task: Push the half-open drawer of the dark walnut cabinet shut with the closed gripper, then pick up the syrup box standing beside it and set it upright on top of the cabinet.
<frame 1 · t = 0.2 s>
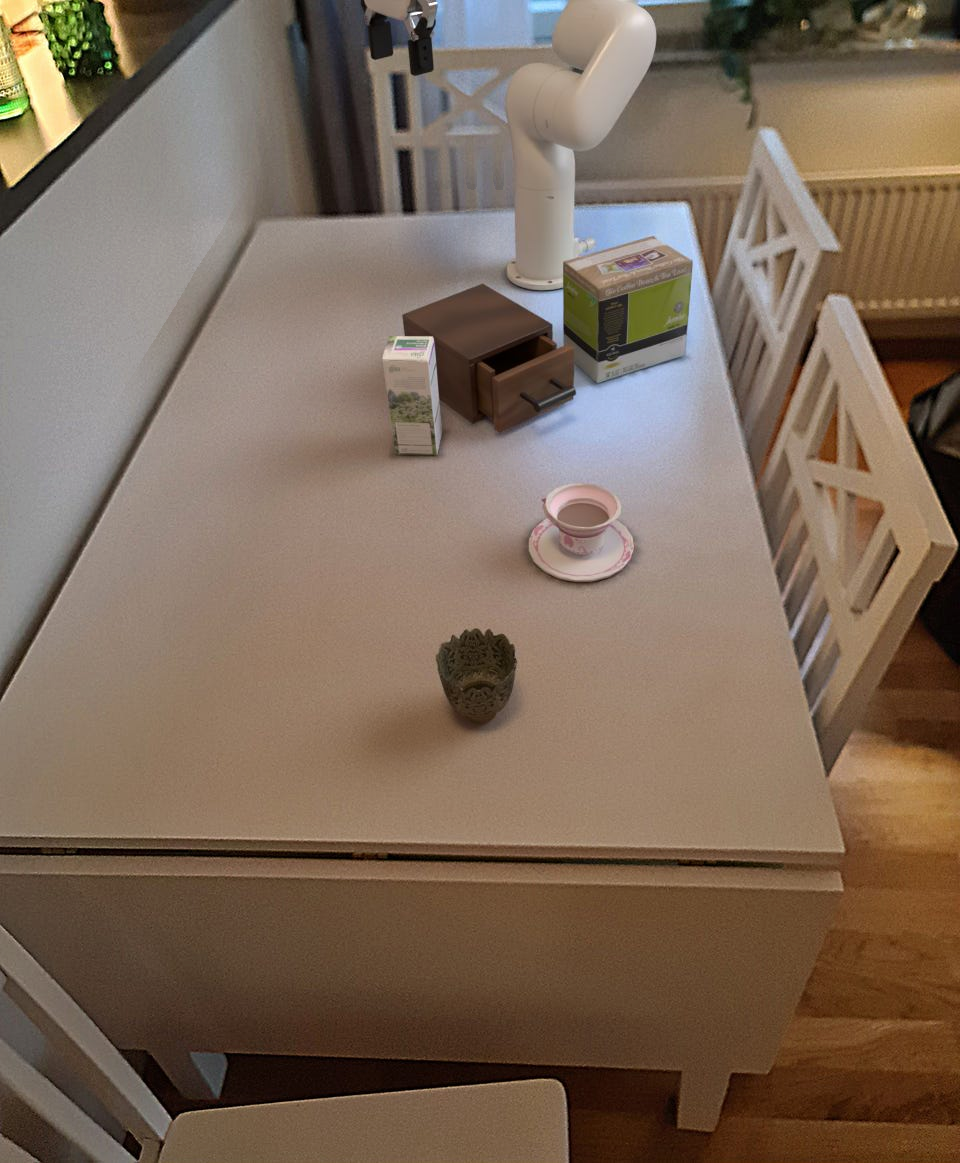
hand: (401, 65, 123), 37 cm above the table, tool pointing down, fingers open, 9 cm apart
cabinet: (479, 382, 135), on the table
cup: (480, 712, 92), on the table
teacup: (580, 548, 108), on the table
tea box: (622, 357, 138), on the table
syrup box: (419, 445, 125), on the table
drawer: (513, 374, 127), point 5 cm above the table, slide at 4.0 cm
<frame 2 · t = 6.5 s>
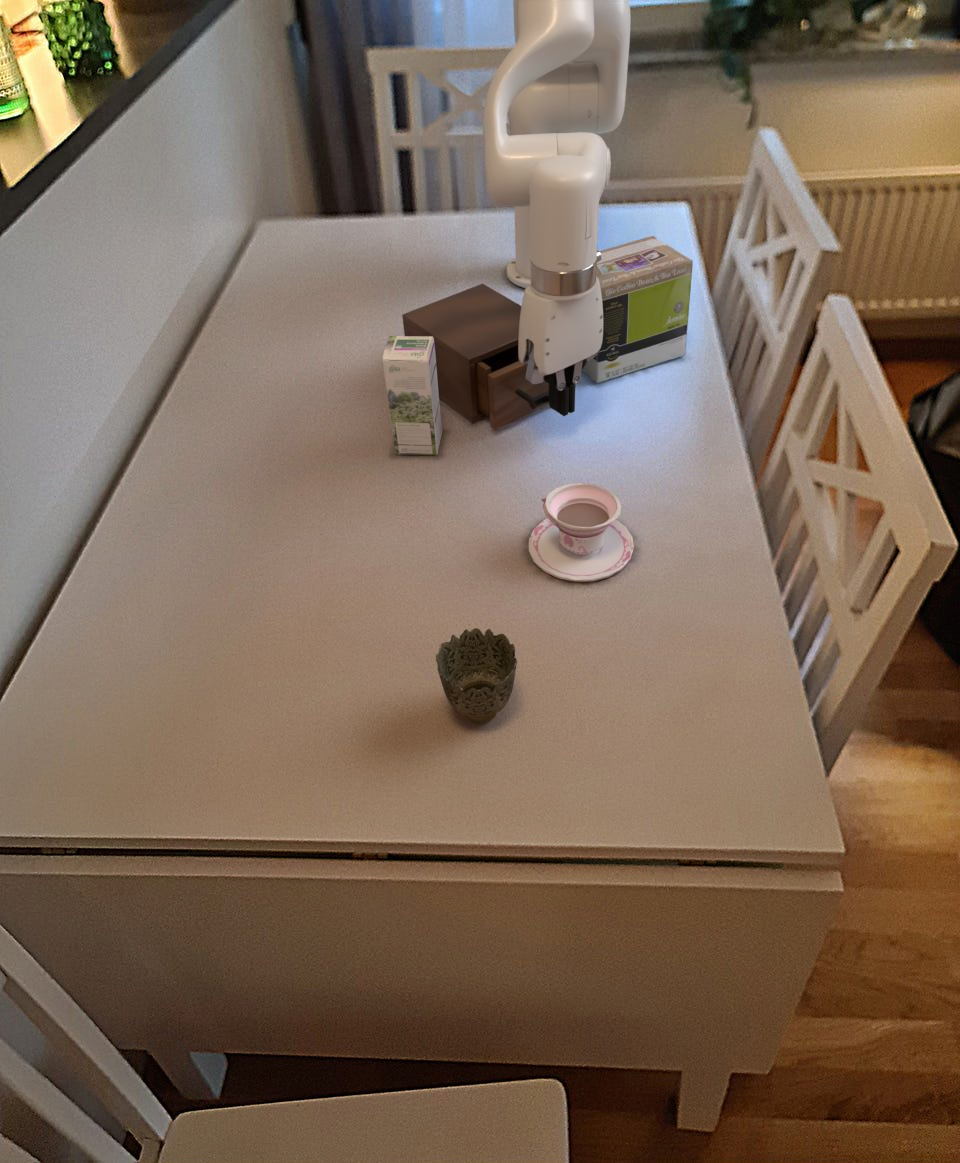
hand: (561, 409, 121), 5 cm above the table, tool pointing down, fingers closed
drawer: (508, 371, 127), point 5 cm above the table, slide at 3.1 cm, touching gripper
everything else where it was.
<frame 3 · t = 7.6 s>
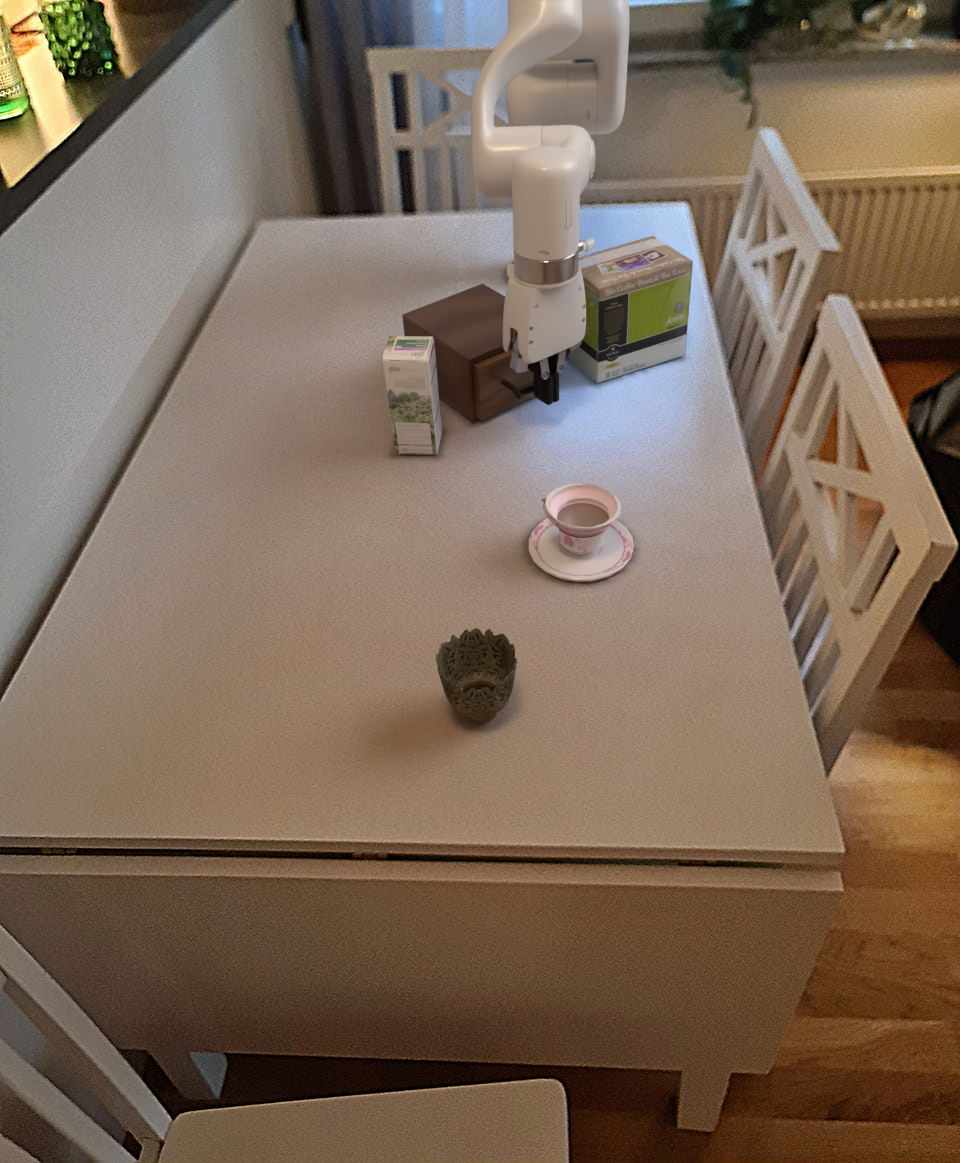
hand: (546, 398, 123), 5 cm above the table, tool pointing down, fingers closed
drawer: (495, 362, 129), point 5 cm above the table, slide at 0.0 cm, touching cabinet, gripper
everything else where it was.
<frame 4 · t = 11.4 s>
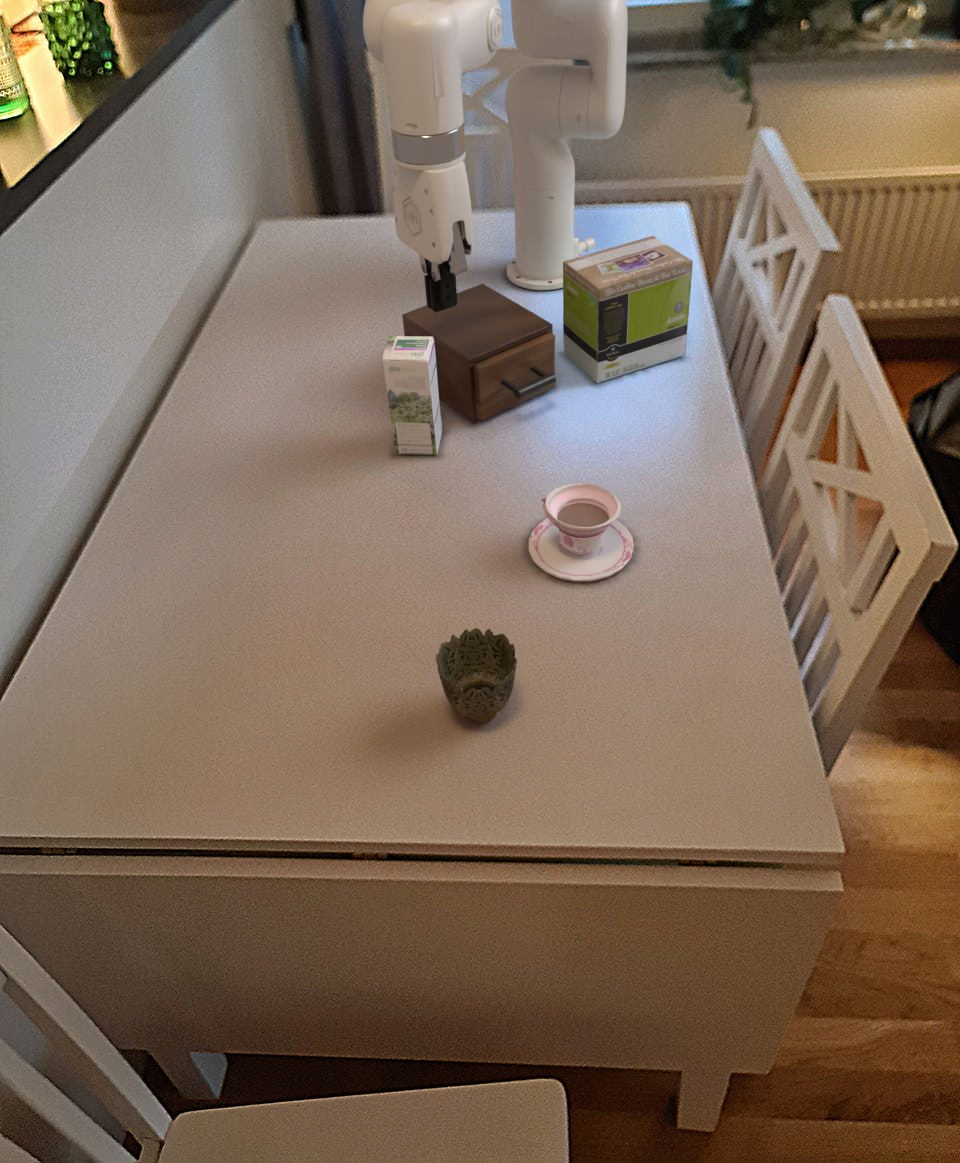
hand: (442, 306, 111), 20 cm above the table, tool pointing down, fingers closed
drawer: (495, 362, 129), point 5 cm above the table, slide at 0.0 cm, touching cabinet
everything else where it was.
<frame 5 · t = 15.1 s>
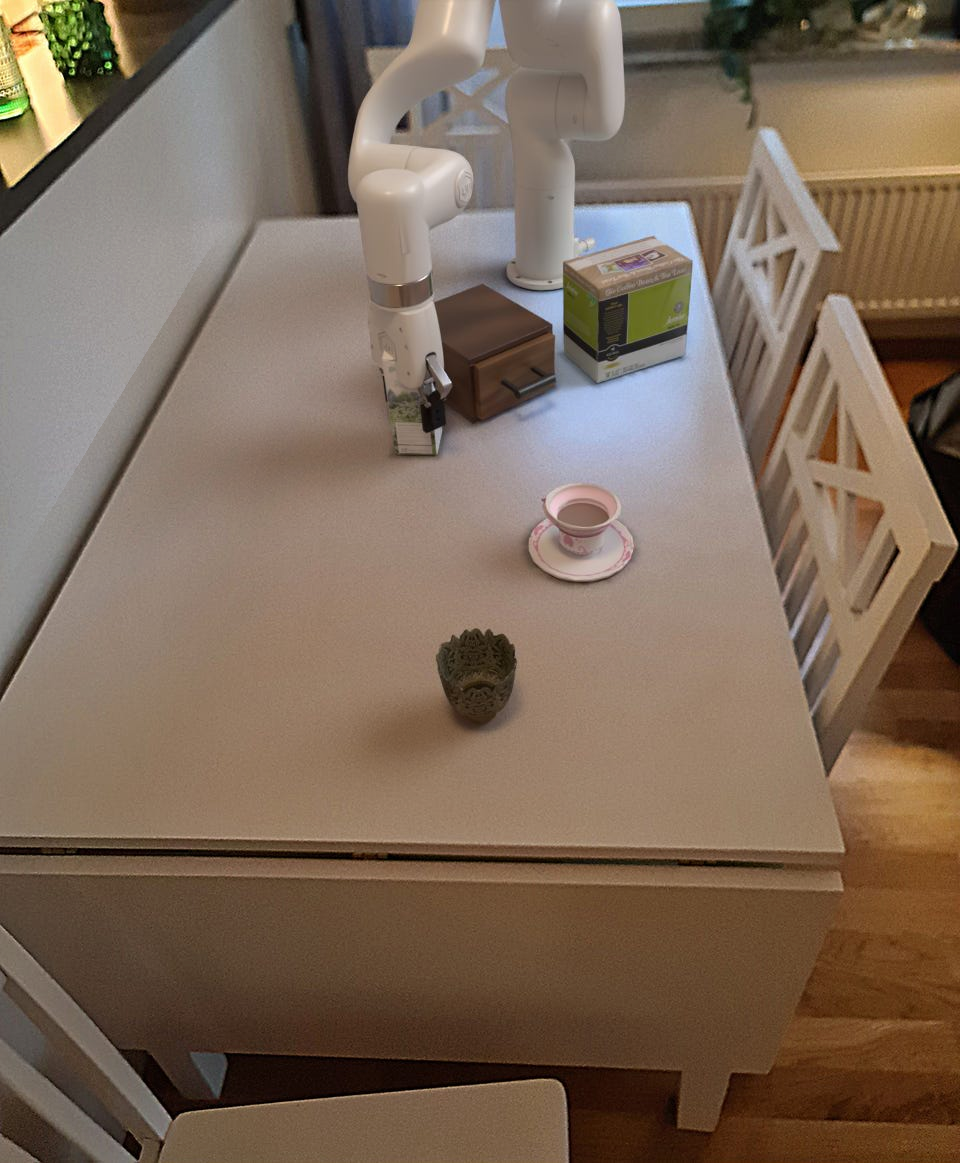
hand: (415, 412, 121), 5 cm above the table, tool pointing down, fingers closed on syrup box, 8 cm apart
syrup box: (419, 445, 125), on the table, touching gripper
everything else where it was.
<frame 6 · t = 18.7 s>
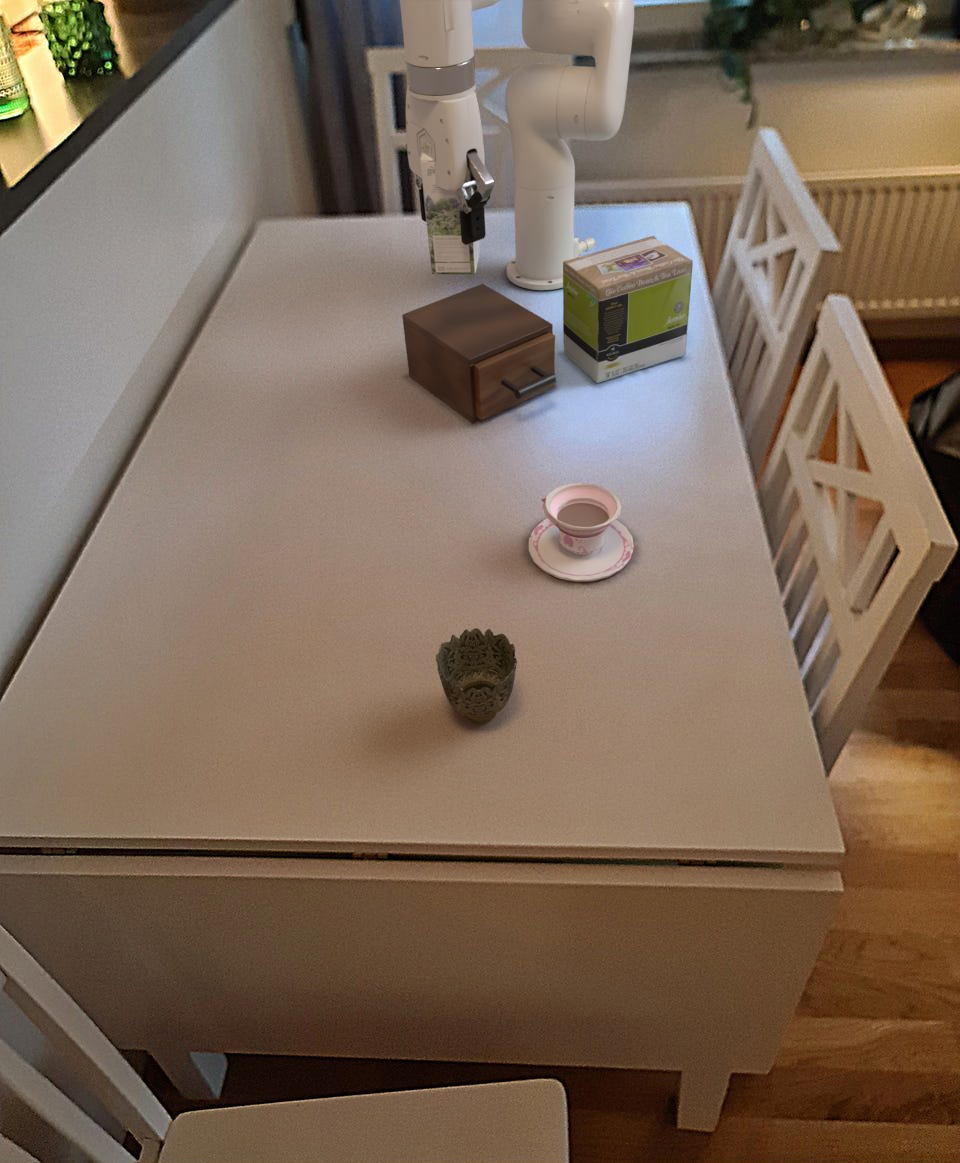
hand: (453, 228, 117), 23 cm above the table, tool pointing down, fingers closed on syrup box, 8 cm apart
syrup box: (456, 266, 121), point 18 cm above the table, touching gripper
everything else where it was.
when the fingers open (15 cm above the table, at t = 22.4 s): syrup box stays where it is, resting on cabinet.
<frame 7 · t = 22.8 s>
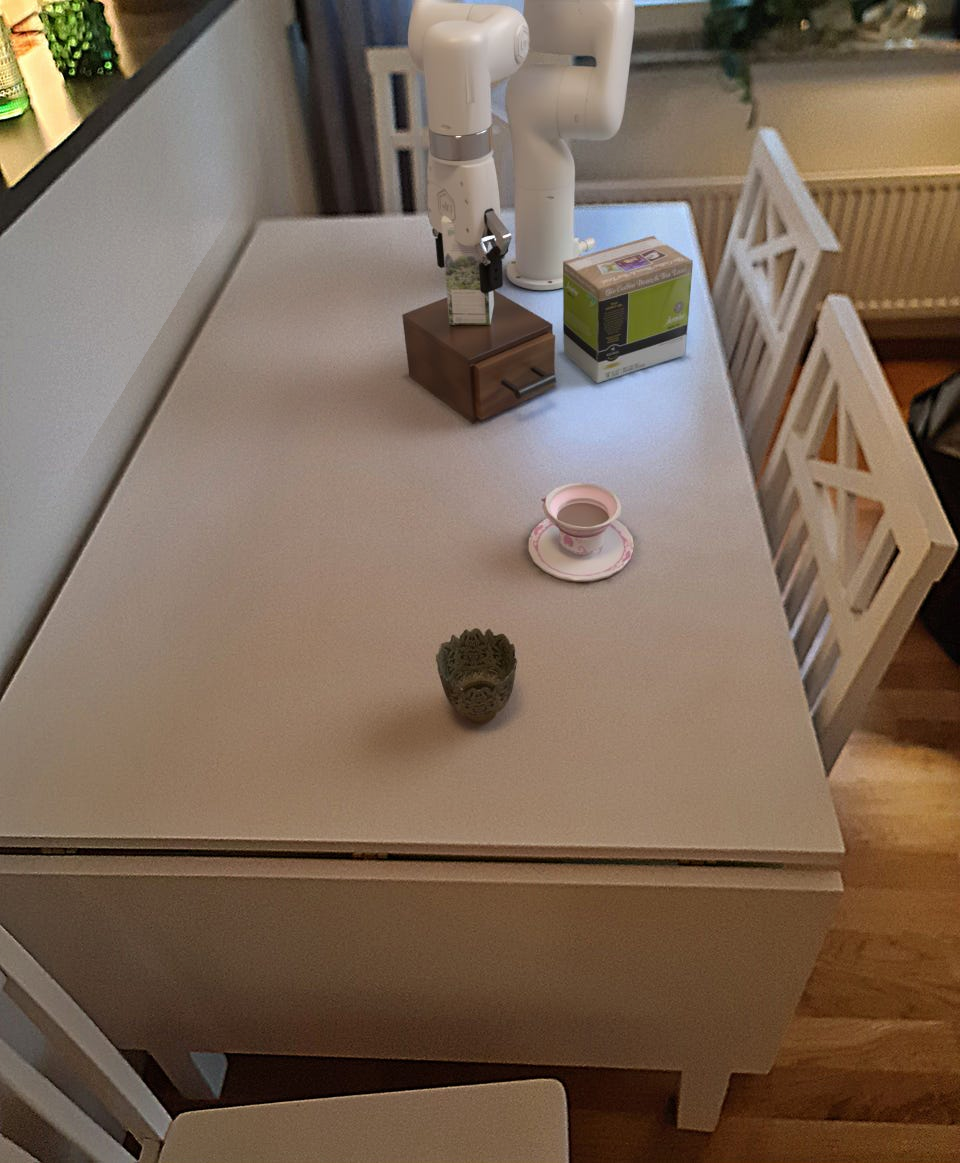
hand: (469, 276, 125), 15 cm above the table, tool pointing down, fingers open, 9 cm apart
syrup box: (472, 317, 129), point 10 cm above the table, touching cabinet
everything else where it was.
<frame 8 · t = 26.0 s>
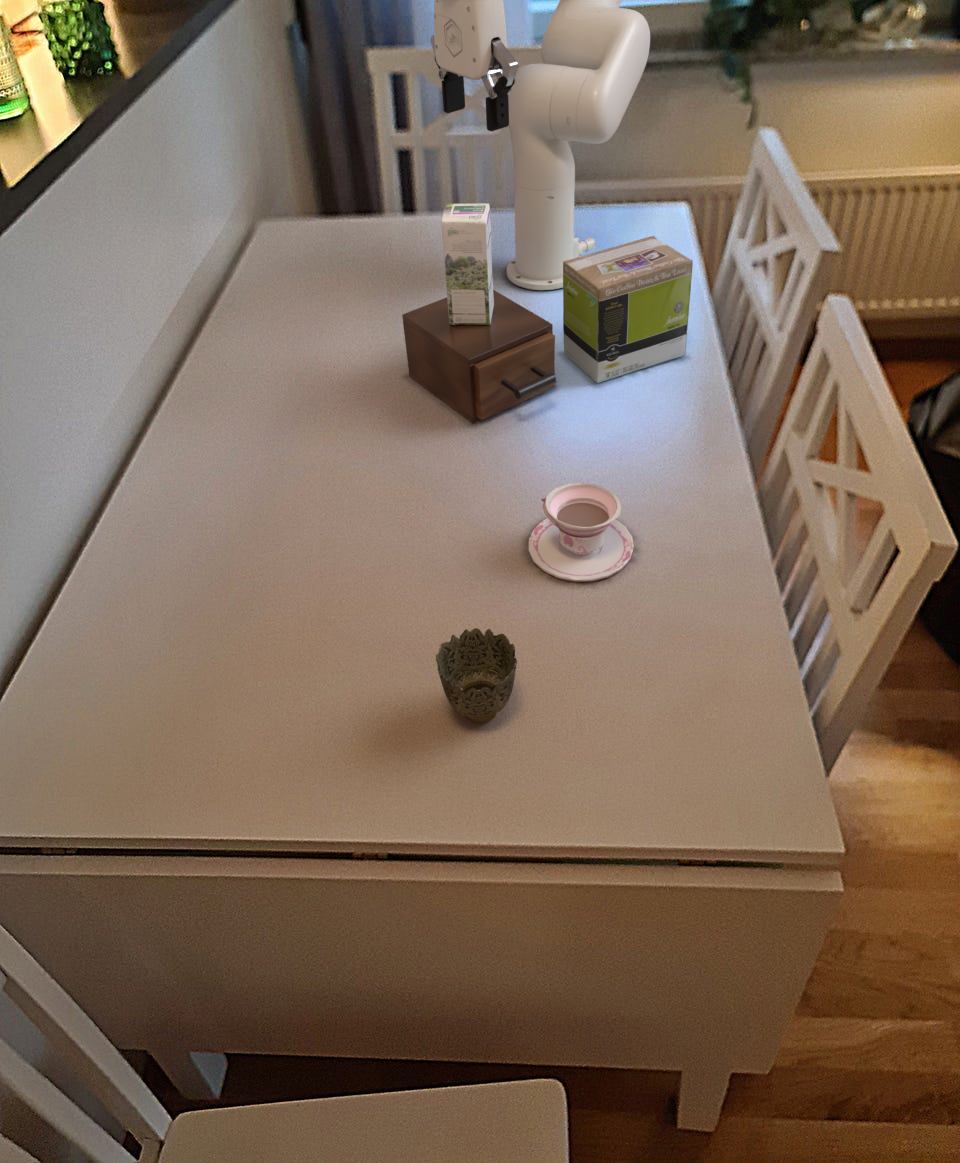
hand: (475, 119, 125), 30 cm above the table, tool pointing down, fingers open, 9 cm apart
nothing on the table moved.
at the end: drawer slide at 0.0 cm; syrup box inside the target area on the cabinet (1.0 cm from its centre), point 9.6 cm above the cabinet's base; syrup box tilted 0° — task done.
